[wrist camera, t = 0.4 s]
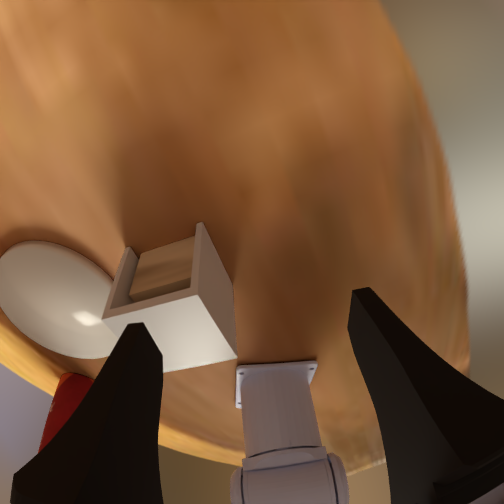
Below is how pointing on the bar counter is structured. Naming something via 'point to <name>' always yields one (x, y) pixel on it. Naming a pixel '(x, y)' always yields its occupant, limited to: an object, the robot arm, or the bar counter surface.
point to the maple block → (163, 270)
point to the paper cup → (64, 403)
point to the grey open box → (181, 310)
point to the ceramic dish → (56, 298)
